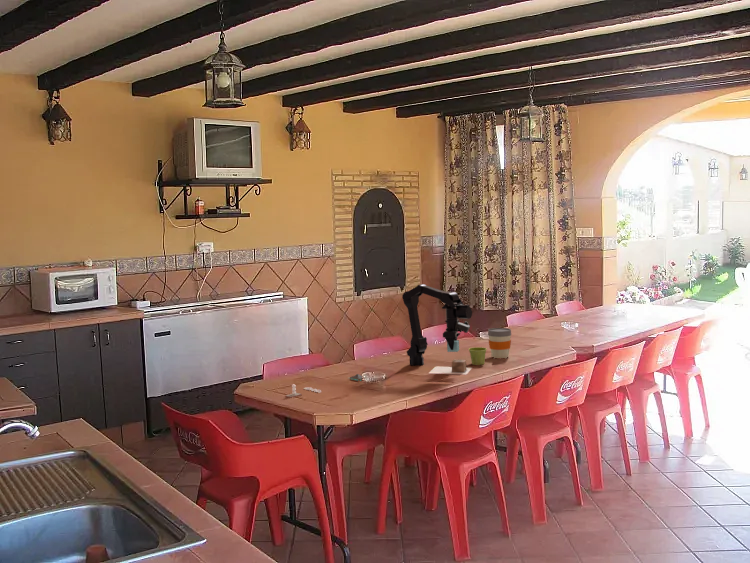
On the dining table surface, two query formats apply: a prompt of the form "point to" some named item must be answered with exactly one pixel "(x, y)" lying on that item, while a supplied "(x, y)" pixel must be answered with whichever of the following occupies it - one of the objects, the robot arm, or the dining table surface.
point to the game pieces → (294, 394)
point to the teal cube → (456, 347)
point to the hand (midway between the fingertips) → (453, 348)
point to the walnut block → (458, 365)
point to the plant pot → (477, 355)
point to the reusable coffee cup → (499, 342)
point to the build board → (448, 370)
